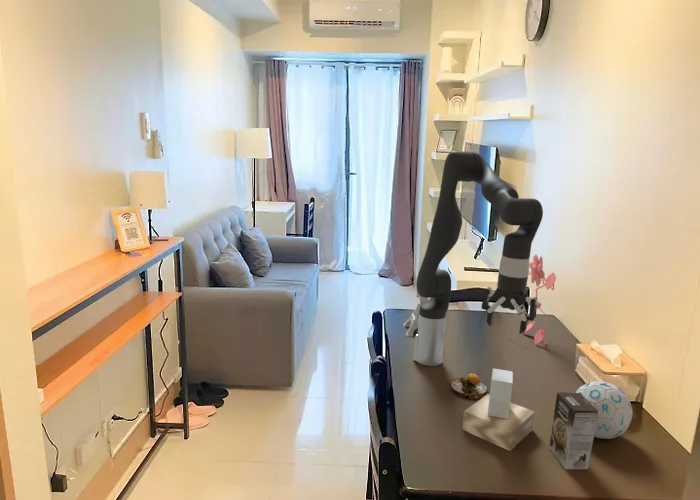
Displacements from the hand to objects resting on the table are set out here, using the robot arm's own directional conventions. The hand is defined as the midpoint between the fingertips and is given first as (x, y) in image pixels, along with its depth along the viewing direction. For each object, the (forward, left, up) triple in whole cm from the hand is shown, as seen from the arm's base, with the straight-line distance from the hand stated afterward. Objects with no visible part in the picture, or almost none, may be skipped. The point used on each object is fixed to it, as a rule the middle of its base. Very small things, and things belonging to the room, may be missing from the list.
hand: (505, 328), depth 146 cm
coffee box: (+21, -9, -28) cm, 36 cm away
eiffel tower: (-45, +51, -28) cm, 74 cm away
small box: (+2, -6, -22) cm, 23 cm away
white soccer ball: (+26, +8, -28) cm, 39 cm away
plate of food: (-12, +12, -28) cm, 33 cm away
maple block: (+2, -6, -28) cm, 28 cm away
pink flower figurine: (-7, +68, -28) cm, 74 cm away
